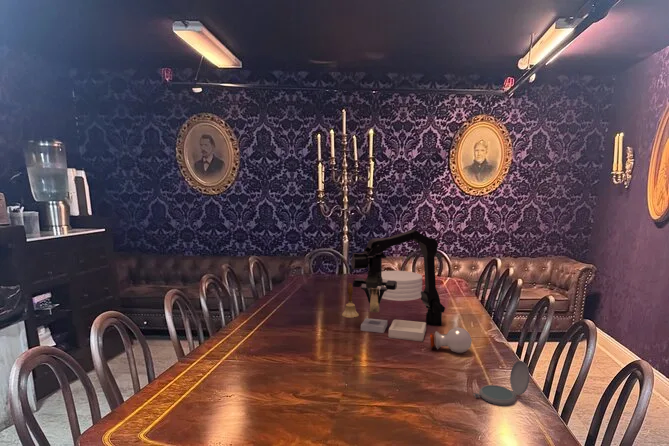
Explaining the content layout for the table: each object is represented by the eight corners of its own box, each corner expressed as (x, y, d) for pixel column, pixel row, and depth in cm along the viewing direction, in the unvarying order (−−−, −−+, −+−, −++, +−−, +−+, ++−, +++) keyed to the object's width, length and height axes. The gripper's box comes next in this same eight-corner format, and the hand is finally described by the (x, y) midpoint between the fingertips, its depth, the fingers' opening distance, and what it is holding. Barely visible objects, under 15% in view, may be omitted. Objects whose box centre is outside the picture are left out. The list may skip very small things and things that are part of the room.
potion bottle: (473, 358, 155) (432, 358, 159) (471, 336, 162) (432, 336, 166) (472, 343, 149) (429, 344, 154) (470, 321, 156) (429, 322, 161)
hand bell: (357, 318, 197) (357, 285, 196) (340, 317, 199) (340, 284, 198) (359, 313, 206) (360, 281, 204) (343, 312, 207) (343, 280, 206)
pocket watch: (533, 369, 117) (480, 369, 117) (531, 406, 118) (479, 407, 117) (516, 355, 127) (468, 355, 127) (515, 389, 128) (467, 390, 127)
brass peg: (379, 310, 184) (380, 288, 184) (378, 312, 181) (378, 290, 180) (370, 309, 186) (371, 287, 185) (369, 311, 182) (369, 289, 181)
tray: (425, 330, 181) (426, 322, 181) (422, 341, 168) (423, 333, 167) (393, 327, 185) (393, 319, 185) (388, 337, 172) (388, 329, 172)
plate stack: (365, 291, 250) (365, 272, 249) (403, 287, 262) (404, 269, 261) (390, 303, 225) (390, 282, 224) (432, 297, 237) (432, 277, 236)
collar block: (387, 325, 187) (387, 320, 187) (383, 332, 177) (383, 327, 177) (365, 323, 190) (365, 318, 190) (360, 330, 180) (360, 324, 180)
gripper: (349, 270, 177) (349, 306, 178) (393, 272, 171) (392, 310, 172) (356, 265, 187) (355, 299, 188) (397, 268, 182) (396, 303, 183)
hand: (374, 303), depth 183 cm, fingers closed on brass peg, 4 cm apart
